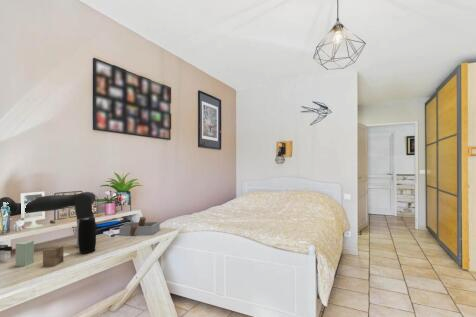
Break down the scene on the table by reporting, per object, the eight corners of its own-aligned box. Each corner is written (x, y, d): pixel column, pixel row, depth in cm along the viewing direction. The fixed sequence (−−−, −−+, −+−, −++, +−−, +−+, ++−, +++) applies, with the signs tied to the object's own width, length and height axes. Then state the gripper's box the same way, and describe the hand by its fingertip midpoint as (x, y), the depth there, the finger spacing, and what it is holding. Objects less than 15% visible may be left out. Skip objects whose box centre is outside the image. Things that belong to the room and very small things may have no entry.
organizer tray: (129, 230, 196) (129, 222, 196) (159, 229, 195) (159, 221, 195) (119, 235, 180) (119, 227, 180) (152, 235, 179) (151, 226, 179)
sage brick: (24, 262, 131) (24, 241, 132) (33, 262, 131) (33, 240, 132) (15, 266, 126) (15, 243, 127) (25, 266, 126) (25, 243, 127)
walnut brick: (52, 261, 131) (52, 246, 132) (63, 261, 131) (63, 246, 131) (42, 266, 125) (42, 249, 126) (54, 266, 125) (54, 249, 125)
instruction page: (52, 253, 144) (52, 253, 144) (71, 253, 143) (71, 252, 143) (40, 259, 136) (40, 258, 136) (60, 258, 135) (60, 258, 135)
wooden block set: (133, 238, 178) (136, 226, 176) (125, 232, 182) (128, 220, 180) (152, 231, 194) (155, 219, 193) (144, 226, 198) (148, 214, 196)
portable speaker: (75, 255, 140) (75, 219, 141) (82, 249, 150) (82, 216, 150) (92, 253, 142) (92, 218, 143) (98, 248, 152) (97, 215, 152)
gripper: (-43, 248, 123) (-11, 248, 122) (-13, 240, 137) (16, 239, 137) (-43, 264, 123) (-11, 264, 122) (-13, 254, 137) (16, 254, 136)
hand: (3, 251), depth 129 cm, fingers open, 8 cm apart
